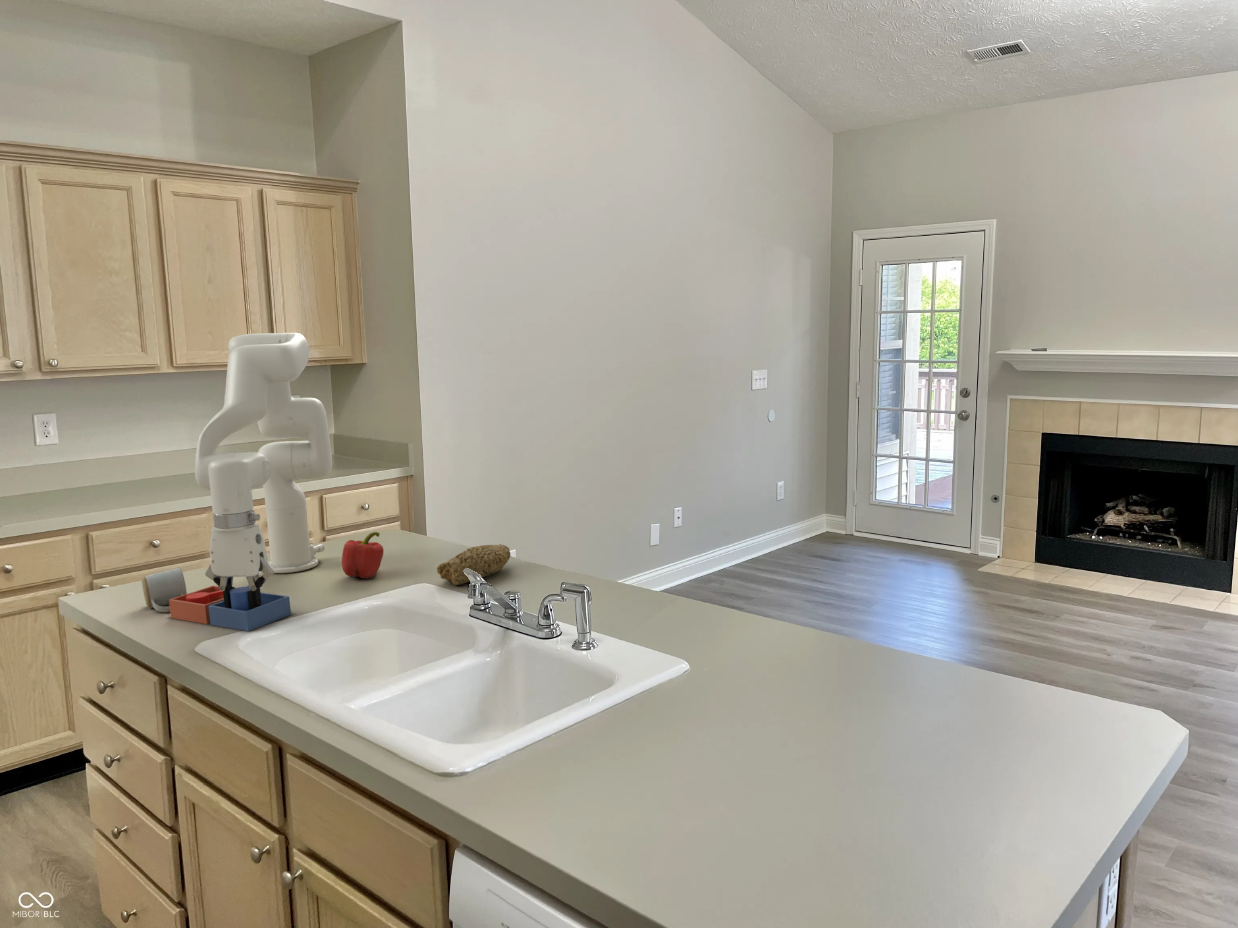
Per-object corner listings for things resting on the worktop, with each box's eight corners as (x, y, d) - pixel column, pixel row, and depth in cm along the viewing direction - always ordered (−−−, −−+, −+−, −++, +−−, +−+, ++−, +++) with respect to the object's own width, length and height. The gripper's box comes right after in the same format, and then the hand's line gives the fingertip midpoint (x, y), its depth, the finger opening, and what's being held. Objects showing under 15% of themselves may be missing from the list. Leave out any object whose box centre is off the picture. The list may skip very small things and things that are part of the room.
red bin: (215, 602, 201) (213, 585, 200) (250, 608, 196) (248, 590, 195) (171, 617, 191) (168, 599, 190) (206, 624, 186) (204, 605, 185)
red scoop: (191, 618, 189) (189, 599, 188) (184, 613, 192) (182, 595, 191) (236, 607, 195) (235, 589, 194) (229, 603, 198) (227, 585, 197)
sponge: (463, 594, 204) (531, 558, 216) (452, 562, 202) (520, 528, 215) (434, 593, 214) (500, 559, 226) (423, 563, 212) (490, 530, 225)
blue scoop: (247, 612, 182) (245, 592, 182) (227, 612, 183) (225, 592, 182) (270, 598, 191) (268, 579, 191) (251, 598, 192) (249, 579, 191)
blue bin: (253, 608, 195) (252, 590, 195) (291, 614, 190) (289, 596, 190) (210, 624, 185) (208, 605, 185) (248, 631, 180) (246, 611, 180)
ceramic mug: (143, 604, 201) (139, 570, 200) (184, 596, 206) (180, 564, 204) (149, 617, 193) (145, 582, 191) (191, 609, 197) (188, 574, 196)
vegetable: (369, 567, 225) (365, 528, 224) (397, 573, 219) (394, 532, 218) (332, 578, 216) (328, 537, 215) (360, 584, 210) (356, 542, 209)
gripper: (283, 515, 185) (291, 602, 187) (205, 516, 187) (214, 602, 190) (264, 523, 177) (273, 614, 180) (183, 524, 179) (193, 613, 182)
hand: (243, 607), depth 185 cm, fingers closed on blue scoop, 4 cm apart
